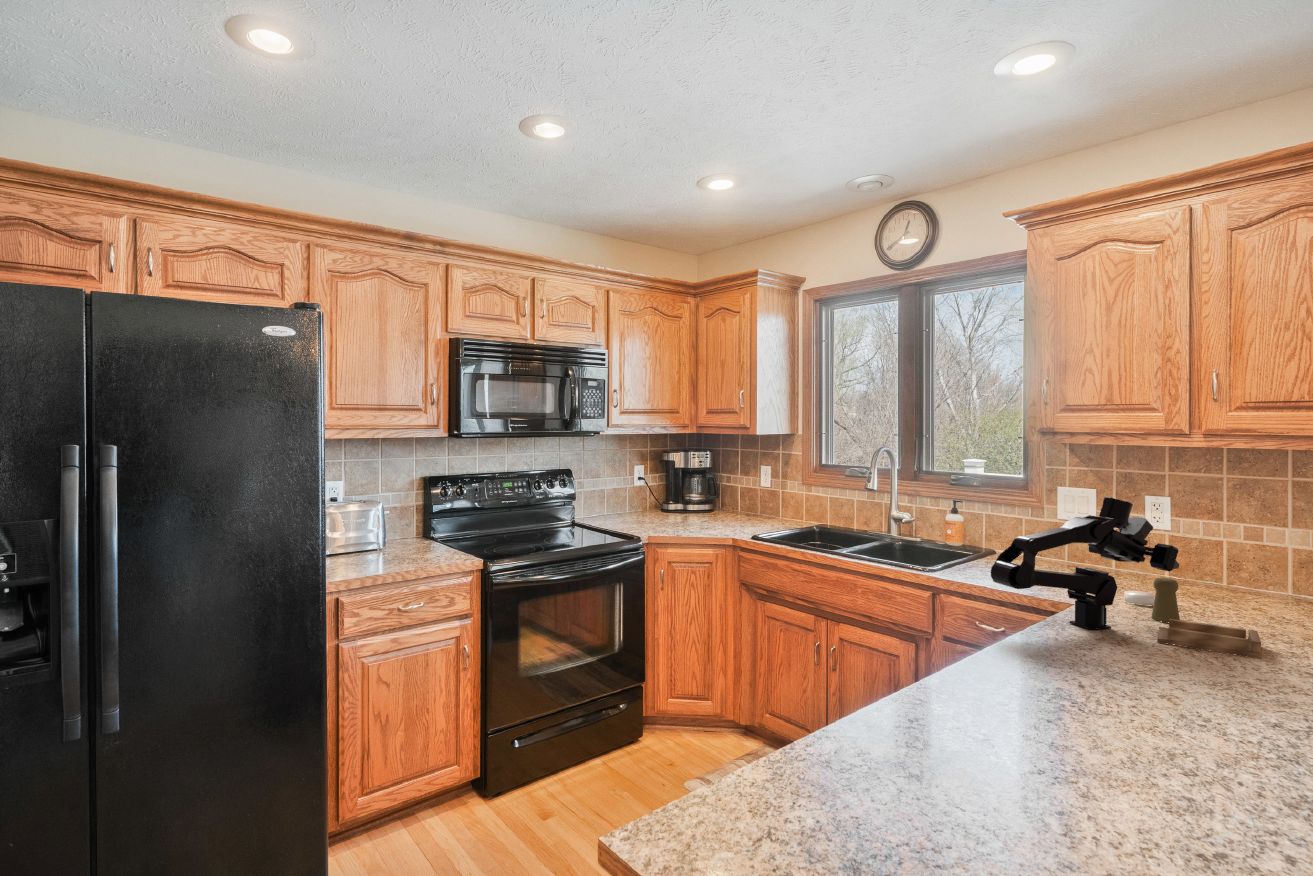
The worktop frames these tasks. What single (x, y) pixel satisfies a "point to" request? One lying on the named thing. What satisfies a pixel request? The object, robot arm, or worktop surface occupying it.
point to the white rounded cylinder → (1139, 597)
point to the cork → (1165, 600)
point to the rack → (1211, 638)
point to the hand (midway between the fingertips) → (1160, 563)
